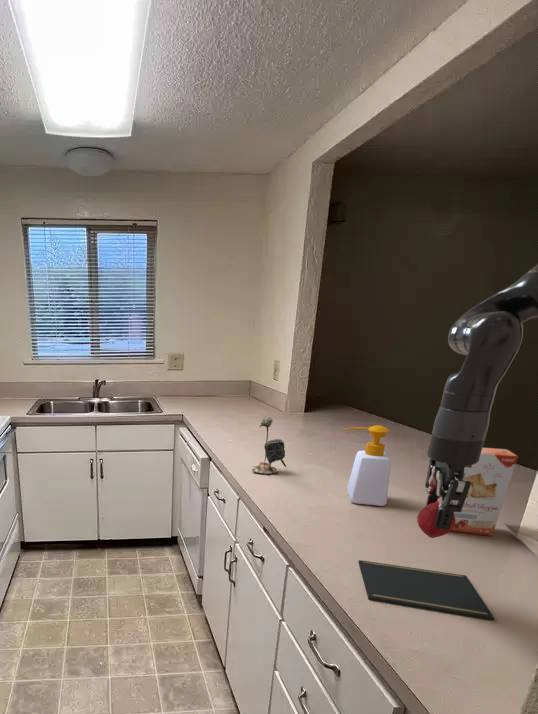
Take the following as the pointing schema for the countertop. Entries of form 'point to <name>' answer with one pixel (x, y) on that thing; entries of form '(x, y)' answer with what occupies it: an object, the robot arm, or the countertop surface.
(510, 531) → the countertop surface
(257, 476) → the countertop surface
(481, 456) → the cracker box
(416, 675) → the countertop surface
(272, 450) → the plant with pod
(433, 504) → the onion
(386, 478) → the soap bottle
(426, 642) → the countertop surface
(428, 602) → the placemat
